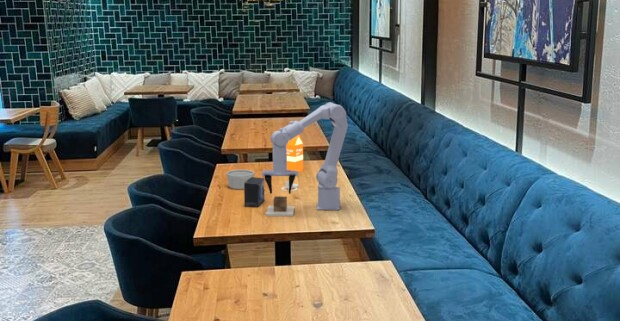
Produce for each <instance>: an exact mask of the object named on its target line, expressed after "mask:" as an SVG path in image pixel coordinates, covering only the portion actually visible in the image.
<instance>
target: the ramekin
mask: <svg viewBox="0 0 620 321" xmlns="http://www.w3.org/2000/svg"><path fill="white" fill-rule="evenodd" d="M226 177H227V178H226V179H227V184H228V187H229V188H230V189H232V190H244V183H245V182H246V181H247V180H249V179H250V178H251V177H255V171H253V170H250V169H233V170H229V171H227V172H226Z"/></svg>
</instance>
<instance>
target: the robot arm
mask: <svg viewBox="0 0 620 321" xmlns="http://www.w3.org/2000/svg"><path fill="white" fill-rule="evenodd" d="M319 120H329V121H330V122H331V124H332V126H333V131H332V134H331V138H330V141H329V145H328V148H327V152H326V156H325V159H324V162H323V163H322V165H321V166H320V168H319V170H318V171H317V173H316V175H315V180H316V181H317V183H318V185H317V204H316V205H317V206H316V210H318V211H321V210H323V211H328V210H329V211H330V210H331V211H334V210H335V211H336V210H337V211H340V210H341V208H340V207H341V206H340V205H341V199H340V198H341V190H340V189H341V187H339V186H337V184H338V169H337V165H338V163H339V159H340V157H341V156H340V154H341V152H342V149H343V145H344V142H345V137H346V134H347V131H348V127H349V125H348V124H349V123H348V119H347V111H346V109H345V108H344V107H343V106H342V105H341V104H336V103H334V102H330V101H329V102H326V103H325V104H323V105H321V106H319V107H317V109H315V110H313V111H311V113H309V114H308V115H307V116H305V117H303V118H302V119H301V120H299V121H298V120H294V121H293V120H291V121H289V123H288V125H286V126H284V127H280V128H279V130H276V131H275V130H274V131H273V133H272V134H271V137H270V138H269V139H270V142H271V143H272V169H270V170H262V171H261V177H264V182H265V183H266V184H267V187H268V190H269V195H271V194H272V193H273V187H272V186H273V185H272V184H273V183H272V180H273V179H272V177H288V181H289V189H288V190H289V191H288V194H291V193H292V191H291V190H292V189H291V187H292V184H294V181H295V179H296V177H299V172H298V171H293V170H287V149H286V145H287V144H288V142H289V141H290V140H291V139H293V138H295V137H296V136H298V135H299V136H300V135H301V134H302V133H303V132H304V129H305V128H307V127H309V126H311V125H312V124H314V123H316V122H318V121H319Z"/></svg>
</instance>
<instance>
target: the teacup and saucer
mask: <svg viewBox="0 0 620 321" xmlns="http://www.w3.org/2000/svg"><path fill="white" fill-rule="evenodd" d="M298 187H299V184H298V183H293V184H292V187H291V192H294V191H297V190H298V189H299V188H298ZM280 190H281V191H285V192H289V180H286V181H285V183H284V186H282V187H280Z"/></svg>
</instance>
